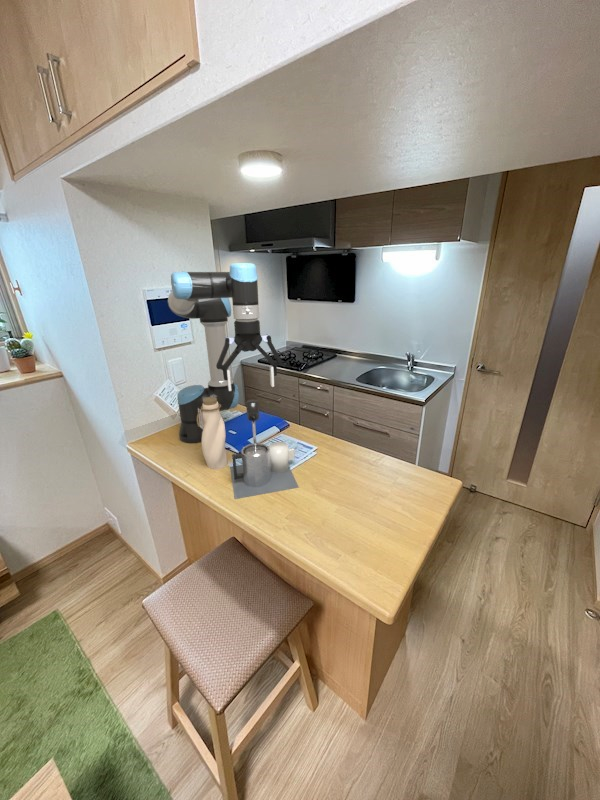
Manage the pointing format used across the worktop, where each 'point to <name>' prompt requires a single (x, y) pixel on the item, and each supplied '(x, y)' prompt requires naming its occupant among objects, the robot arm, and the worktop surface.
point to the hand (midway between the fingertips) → (251, 387)
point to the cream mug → (280, 457)
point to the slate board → (276, 484)
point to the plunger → (253, 416)
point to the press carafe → (254, 467)
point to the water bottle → (212, 433)
